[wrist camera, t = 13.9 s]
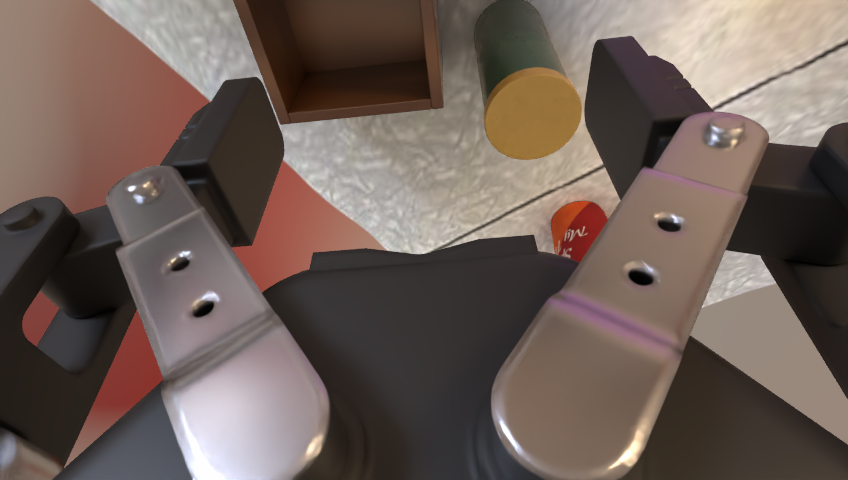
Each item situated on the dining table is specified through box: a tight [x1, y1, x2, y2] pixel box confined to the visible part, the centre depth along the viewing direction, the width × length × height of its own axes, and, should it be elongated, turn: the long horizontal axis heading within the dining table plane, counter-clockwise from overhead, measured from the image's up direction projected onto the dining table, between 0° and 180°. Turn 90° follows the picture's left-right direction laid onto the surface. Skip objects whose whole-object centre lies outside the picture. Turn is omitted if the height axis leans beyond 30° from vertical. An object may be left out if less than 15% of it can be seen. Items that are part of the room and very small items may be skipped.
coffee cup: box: [551, 201, 608, 262], centre depth 48 cm, size 8×8×15 cm
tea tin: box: [474, 0, 582, 160], centre depth 34 cm, size 6×6×14 cm
